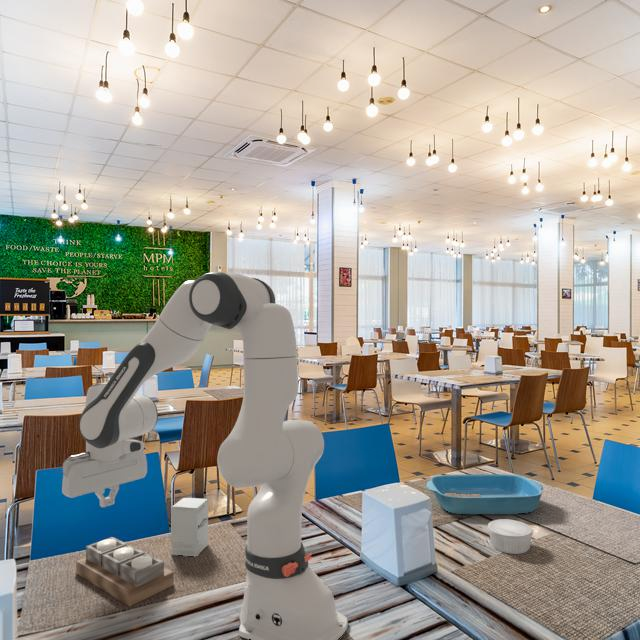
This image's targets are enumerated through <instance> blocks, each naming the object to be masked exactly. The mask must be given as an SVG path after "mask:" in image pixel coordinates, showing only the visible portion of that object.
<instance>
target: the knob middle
mask: <svg viewBox="0 0 640 640" xmlns="http://www.w3.org/2000/svg"><path fill="white" fill-rule="evenodd" d="M113 555H114V558H115V559H116V560H118V561H121V560H123V559H126V558H128V557H131V556H133V555H134V549H133V548H130V547H124V548H120V549H117V550H115V551H114V553H113Z"/></svg>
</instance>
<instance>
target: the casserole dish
mask: <svg viewBox="0 0 640 640" xmlns="http://www.w3.org/2000/svg"><path fill="white" fill-rule="evenodd" d="M425 485H426V488H427V489H428V490H429V491H430V492H433V495H434V497H435V499H436V500H437V502H438V503H439V505H440V506H441V507H442V509H443V510H444V509H445V510H444V511H446V512H447V511H448V513H450V512H452V513H451V514H453V513H457V514H456V515H461V514H492V515H493V514H507V515H519V514H518V513H526V514H529V513H528V512H530V513H532V512H533V511H535V510H536V509H537V508H538V506H539V505H540V500H541V496H542V495H543V489H544V487H543V485H542V484H541V483H540V482H538V481H535V480H533V479H529V478H526V477H524V476H521V475H516V474H509V473H508V474H506V473H505V474H503V473H502V474H499V473H498V474H494V473H493V474H492V473H491V474H488V473H487V474H486V473H485V474H483V473H482V474H480V473H479V474H440V475H434V476H432V477H431V478H430V480H429V481H428V482H427V483H426V484H425ZM445 493H456V494H466V495H467V494H470V495H471V494H480V496H481V497H453V496H447V495H444V494H445Z"/></svg>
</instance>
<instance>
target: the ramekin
mask: <svg viewBox="0 0 640 640" xmlns="http://www.w3.org/2000/svg"><path fill="white" fill-rule="evenodd" d="M487 530H488V534H489V539H490V544H491V545H492V547H493V548H494V549H495V550H497V551H498V552H502V553H505V554H508V555H511V554H512V555H522V554H525V553H527V552H528V551H529V550H530V548H531V543H532V537H533V534H534V530H533V528H532V527H531V526H530V525H528V524H527V523H524V522H522V521H519V520H514V519H507V518H504V519H502V518H501V519H500V518H499V519H495V520H491V521H490V522H488V523H487Z"/></svg>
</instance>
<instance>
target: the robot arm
mask: <svg viewBox="0 0 640 640" xmlns="http://www.w3.org/2000/svg"><path fill="white" fill-rule="evenodd" d="M212 326H218V327H221V328H224V329H227V330H231V329H234V328H235V329H236V330H237V331H239V333H240V335H241V338H242V344H243V345H242V347H243V351H242V353H243V354H242V355H243V396H242V402H241V407H240V411H239V413H238V417H237V419H236V421H235V424H234V426H233V428H232V430H231V431H230V433H229V435H228V436H227V437H226V438H225V439H224V441H222V443H221V444H220V446H219V449H218V452H217V459H216V460H217V461H216V462H217V467H218V472H219V473H220V476H221V477H222V479H223V480H224V481H225V483H226V484H227V485H229V486H231V487H232V488H237V489H242V488H243V489H244V488H247V489H248V488H255V487H260V488H259V491H258V492H257V494H256V495H255V497H254V498H253V499H252V500H251V502H249V503H250V504H249V506H248V509H247V514H246V519H247V520H246V521H247V522H246V525H247V526H246V531H247V535H246V536H247V539H246V543H247V544H246V546H245V551H244V552H245V554H244V566H245V568H246V575H245V576H246V577H245V582H244V583H245V584H244V592H243V599H242V600H243V601H242V605H241V608H240V609H241V610H240V612H239V621H240V625H239V628H238V636H240V637H241V638H244V639H247V640H249V639H251V640H337V639H338V638H339V637H340V636H342V635H343V633H344V632H345V631H347V630H348V626H349V623H348V622H349V621H348V618H347V617H346V616H345V615H344V614H342V613H340V612H339V611H337V609H336V601H335V597H334V594H333V593H332V591H331V589H330V588H328V586H327V584H326V582H325V580H323V579H321V578H320V577H319V576H318V575H317V574H316V572H315V571H314V570H313V568H312V567H310V565H309V561H310V560H311V559H313V556H312V555H313V553H312V552H310V553H308V554H307V553H306V550H305V546H304V544H303V542H302V519H303V518H302V517H303V516H302V514H303V504H304V499H305V495H306V491H307V487H308V485H309V482H310V479H311V475H312V473H313V471H314V468H315V466H317V465H316V464H317V463H318V462H319V460H320V459H321V457H322V455H324V450H325V439H324V435H323V433H322V431H321V430H320V428H319V427H318V425H316V424H315V423H314V422H312V421H310V420H303V419H288V420H285V418H286V414H287V412H288V409H289V407H290V406H291V405H292V404H293V402H294V401H295V400H296V399H297V396H298V394H299V393H298V392H299V374H298V373H299V368H298V348H297V341H296V340H297V339H296V331H295V327H294V322H293V318H292V315H291V312H290V310H289V309H287V308H286V307H285V306H283V305H280V304H278V303H276V296H275V293H274V290H273V289H272V288H271V286H270V285H269V284H267V283H266V282H265V281H264V280H262V279H259V278H256V277H250V276H247V275H246V276H245V275H244V274H240V273H234V272H223V271H211V272H208V273H204V274H201V275H200V276H199V277H197V278H196V279H191V280H186V281H184V282H183V283H181V285H180V286H179V287H178V288H177V289H176V290H175V292H174V293H173V294H172V295H171V297H170V298H169V300H168V301H167V302H166V304H165V306H164V307H163V309H162V310H161V313H160V315H159V316H158V318H157V320H155V323H154V324H153V325H152V327H151V328H150V330H149V331H148V332H147V334H146V335H145V336H144V337H143V338H142V339H141V340H140V341H139V342H138V343H137V344H136V345H135V346H133V348H132V349H130V351H129V352H128V353H127V355H126V356H125V357H124V359H122V361H121V363H120V364H119V366H118V367H117V368H116V370H115V371H114V373H113V374H112V376H111V377H110V378H109V380H108V381H106V382H99V383H95V384H92V385H91V386H90V387H88V389H87V393H86V396H85V397H86V398H85V407H84V409H83V410H82V412H81V415H80V416H79V417H80V418H79V422H78V428H79V433H80V435H81V437H82V438H83V440H84V441H85V452H82V453H79V454H73V455H70V456H68V458H66V459H65V460H64V461H63V463H62V473H63V475H62V486H61V493H62V494H63V495H64V496H65V497H68V498H70V499H71V498H72V499H73V498H77V497H79V496H84V495H87V494H91V493H94V494H95V495H96V496H97V498H98V499H99V506H100V507H101V508H106V507H110V506H112V505H115V503H116V502H115V500H116V496H117V494H118V493H119V490H120V485H123V484H126V483H129V482H134V481H136V480H141V479H144V478H145V477H146V475H147V473H148V460H147V455H146V452H145V451H143V450H144V449H145V443H144V441H141V440H138V439H135V438H137V437H141V436H143V435H145V434H148V433H150V432H151V431H153V430H154V429H155V427H156V425H157V423H158V419H159V413H158V408H157V405H156V403H155V401H154V400H153V399H152V398H151V397H150V396H146V395H142V394H140V393H138V392H139V389H140V388H141V387H142V385H144V383H145V382H146V381H148V380H149V379H150V378H152V377H154V376H155V375H157V374H159V373H162V372H164V371H166V370H168V369H171V368H174V367H177V366H180V365H182V364H184V363H186V362H188V361H189V360H191V358H192V357H193V356H194V355H195V354H196V352H198V350H199V349H200V347H201V345H202V344H203V342H204V340H205V338H207V334H208V333H209V332H210V329H211V328H212ZM105 489H109V490H110V491H109V494H108V496H106V497H105V496H104V494H105V491H106V490H105ZM345 633H346V632H345ZM345 633H344V634H345ZM343 636H344V635H343ZM343 636H342V637H343Z"/></svg>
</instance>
